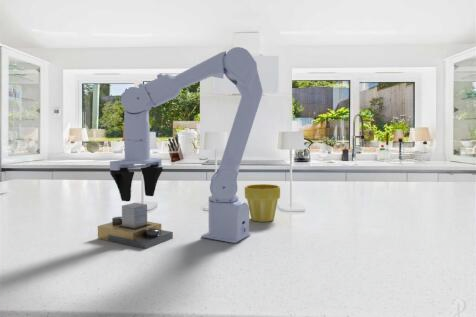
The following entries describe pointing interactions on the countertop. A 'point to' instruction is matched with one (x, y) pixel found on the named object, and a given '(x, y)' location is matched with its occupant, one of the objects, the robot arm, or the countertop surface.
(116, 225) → the brass plate with knob
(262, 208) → the plant pot
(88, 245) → the countertop surface
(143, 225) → the grey metal block
